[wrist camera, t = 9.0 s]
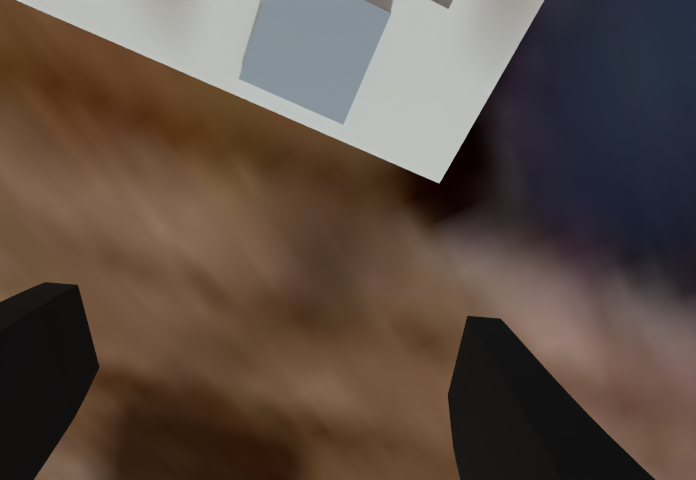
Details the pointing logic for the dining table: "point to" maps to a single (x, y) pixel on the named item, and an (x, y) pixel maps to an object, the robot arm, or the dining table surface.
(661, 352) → the dining table surface
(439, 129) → the socket block
